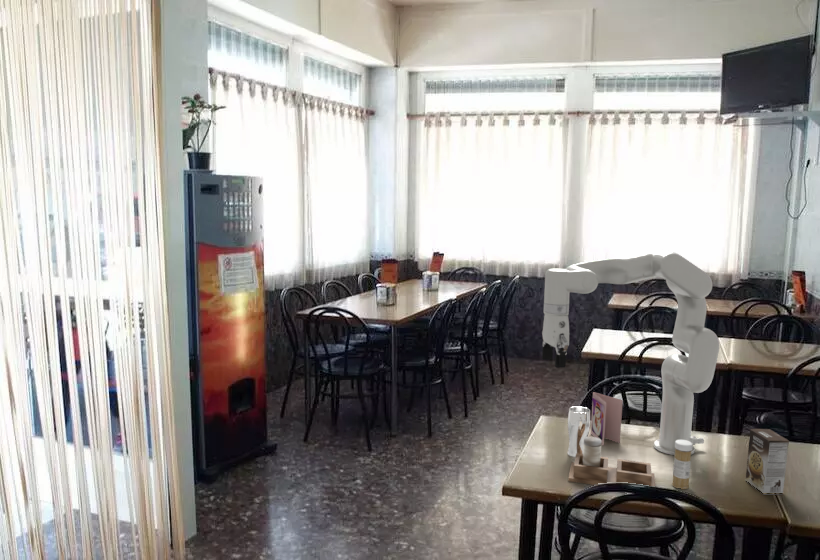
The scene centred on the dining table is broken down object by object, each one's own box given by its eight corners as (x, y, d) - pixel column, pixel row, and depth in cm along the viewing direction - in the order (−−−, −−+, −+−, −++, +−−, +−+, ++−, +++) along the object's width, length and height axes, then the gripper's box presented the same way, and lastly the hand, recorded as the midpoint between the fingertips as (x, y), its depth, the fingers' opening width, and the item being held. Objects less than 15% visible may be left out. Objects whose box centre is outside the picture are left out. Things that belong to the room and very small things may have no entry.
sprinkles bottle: (680, 482, 196) (684, 438, 194) (692, 488, 192) (696, 443, 190) (668, 484, 195) (671, 439, 193) (679, 491, 190) (683, 445, 189)
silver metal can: (586, 450, 218) (589, 406, 216) (590, 459, 211) (592, 413, 209) (564, 449, 219) (567, 405, 217) (567, 458, 212) (570, 412, 210)
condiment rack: (654, 476, 200) (656, 440, 198) (655, 494, 188) (658, 456, 187) (571, 465, 207) (573, 430, 205) (568, 481, 195) (570, 444, 194)
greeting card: (588, 433, 234) (590, 391, 232) (608, 433, 234) (611, 391, 232) (600, 446, 222) (603, 402, 220) (622, 445, 223) (625, 402, 221)
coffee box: (744, 480, 198) (749, 428, 196) (764, 480, 199) (770, 428, 196) (762, 494, 189) (768, 440, 187) (784, 494, 190) (790, 439, 187)
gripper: (580, 314, 198) (577, 370, 200) (555, 303, 215) (553, 355, 217) (556, 314, 197) (553, 371, 199) (533, 304, 213) (531, 356, 216)
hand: (553, 363), depth 208 cm, fingers open, 9 cm apart
